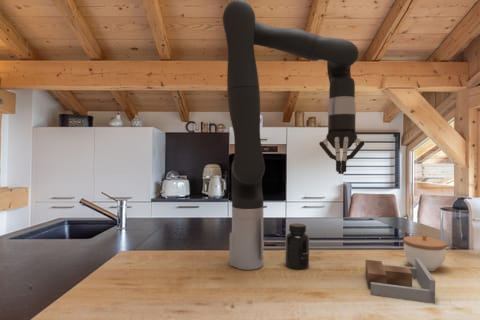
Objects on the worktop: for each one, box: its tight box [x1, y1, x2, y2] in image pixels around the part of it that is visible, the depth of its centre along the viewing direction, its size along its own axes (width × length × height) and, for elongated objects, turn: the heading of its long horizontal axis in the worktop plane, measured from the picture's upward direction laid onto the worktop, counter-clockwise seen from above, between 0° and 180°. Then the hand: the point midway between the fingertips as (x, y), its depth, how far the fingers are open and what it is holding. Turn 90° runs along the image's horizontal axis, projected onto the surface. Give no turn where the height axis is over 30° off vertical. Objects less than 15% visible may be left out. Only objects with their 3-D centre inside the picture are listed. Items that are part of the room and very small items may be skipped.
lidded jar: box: [402, 234, 447, 272], centre depth 89 cm, size 11×11×9 cm
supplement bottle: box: [284, 222, 310, 270], centre depth 90 cm, size 7×7×12 cm
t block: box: [365, 259, 413, 291], centre depth 78 cm, size 10×10×4 cm
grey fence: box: [370, 258, 436, 304], centre depth 77 cm, size 13×15×5 cm
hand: (341, 173), depth 90 cm, fingers closed
